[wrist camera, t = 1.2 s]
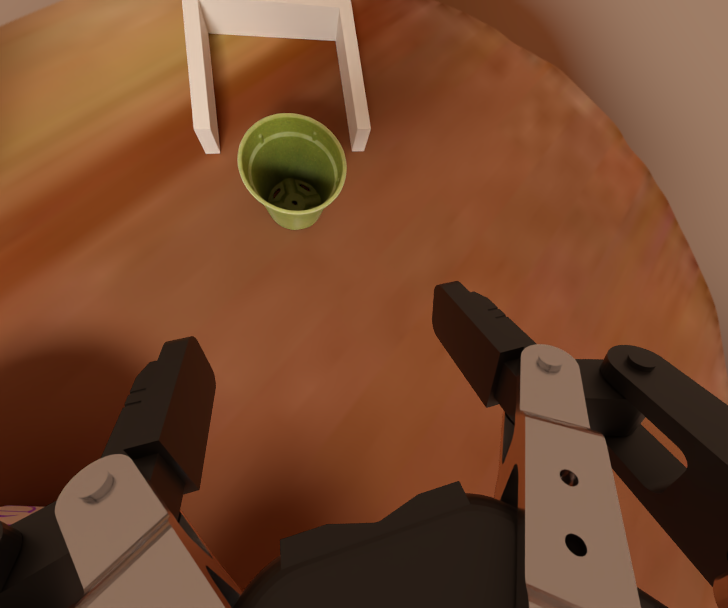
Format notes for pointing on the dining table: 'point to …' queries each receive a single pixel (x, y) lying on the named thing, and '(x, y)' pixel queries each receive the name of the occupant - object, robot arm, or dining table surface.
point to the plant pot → (292, 167)
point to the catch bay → (272, 19)
